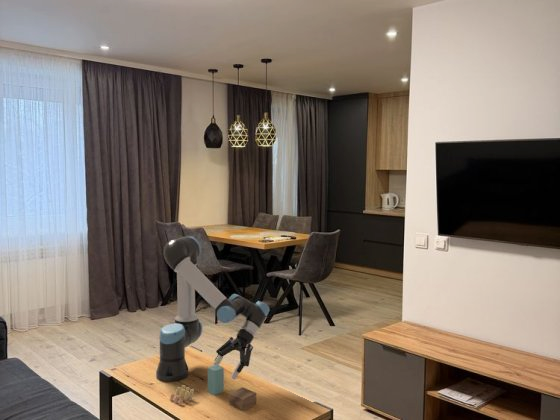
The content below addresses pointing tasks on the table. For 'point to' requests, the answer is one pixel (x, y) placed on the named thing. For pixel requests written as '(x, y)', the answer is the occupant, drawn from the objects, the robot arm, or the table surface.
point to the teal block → (215, 379)
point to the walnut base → (242, 398)
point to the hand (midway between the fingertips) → (222, 373)
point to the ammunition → (182, 394)
